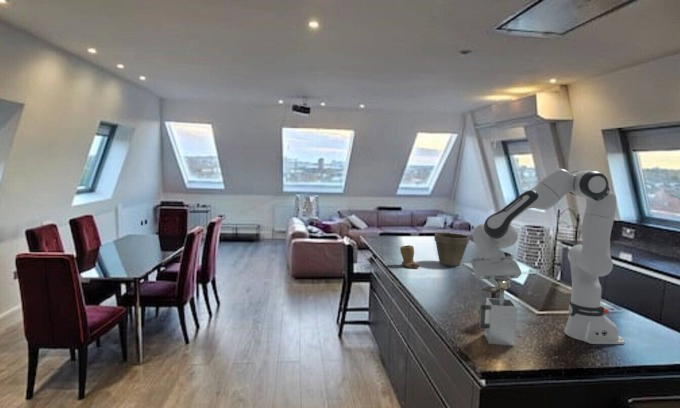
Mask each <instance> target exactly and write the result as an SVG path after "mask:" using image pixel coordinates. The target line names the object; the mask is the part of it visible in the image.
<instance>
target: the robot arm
mask: <svg viewBox="0 0 680 408" xmlns="http://www.w3.org/2000/svg"><path fill="white" fill-rule="evenodd" d="M610 189H611V188H610V186H609V180H608V178H607V176H605V174H604V173H602V172H599V171H596V170H588V169H587V170H578V171H572V172H570V171H568V170H567V169H566V168H565V169H564V168H557V169H555V170H554V171H552V172H550V173H549V174H547V175H546V176H544V178H542V179H541V180H540V181H539V182H538V183H537V184H536V185H535V186H534V187H532V188H530V189H529V190H526V191H524V192H523V193H521V194H520V195H519V196H517V197H516V198H515V199H514V200H512V201H511V202H509V203H508V204H507V205H506V206H504V207H503V208H501V209H500V210H499V211H497V212H495V213H493V214H491V215H489V216H488V217H487V218H486V219H485V221H484V223H481V224H478V225H477V226H475V227H474V229H473V231H472V239H473V242H474V246H475V249H477V251H478V255H479V258H473V259H471V260H470V264H471V267H472V270H473V274H474V275H473V276H474V277H475V278H476V279H477V280H489V282H490V283H491V284H492V285H494V286H493V287H495V288H499V287H500V284H499V282H498V280H502V279H503V280H504V281H507V288H511V287H512V285H511V279H518V278H519V277H520V276H521V275H522V271H521V268H520V266H519V264H518V262H517V261H516V260H515V259H514V254H513V253H510V252H507V251H504V250H501V249H505V248H508V247H511V246H514V245H515V243H516V242H517V240H518V237H519V236H518V235H519V234H518V232H517V230H516V229H515V228H514V226H513V225H512V222H513V221H514V220H515V219H516V218H518V217H519V216H521V214H523V213H524V212H525V211H527V210H528V209H536V210H541V211H547V210H549V209H551V208H552V207H554V206H555V205H556V204H558V203H559V202H560V201H561V200H562V199H563V197H565V196H566V195H567V194H571V195H574V196H579V197H581V198H585V202H586V206H585V209H584V214H583V218H582V222H581V228H580V234H581V242H582V243H581V244H575V245H573V246H571V247H570V248H569V249H568V252H567V259H568V262H569V266H570V276H571V293H570V294H571V297H570V300H569V306H568V317H567V323H566V326H565V329H564V331H563V332H564V334H565V335H567V336H568V337H570V338H572V339H576V340H578V341H583V342H585V343H588V344H590V345H591V344H592V345H625V339H624V338H623V337H622V336H621V335H619V329H618V326H617V325H616V324H615V323H614V322H613V321H612V320H611V319H609V318H608V317H607V316H606V315H608V314H610V309H608V308H607V307H603V306H602V305H601V299H602V285H601V283H600V280H599V279H600V278H599V277H605V276H608V275H610V273H611V272H612V270H613V267H614V262H613V259H612V255H611V234H612V230H613V225H614V221H615V216H616V211H617V196H616V195H615V193H614V192H612V191H611V190H610ZM605 314H606V315H605Z"/></svg>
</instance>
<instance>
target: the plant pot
mask: <svg viewBox="0 0 680 408" xmlns="http://www.w3.org/2000/svg"><path fill="white" fill-rule="evenodd" d="M434 241H435V245H436V249H437V250H436V251H437V255H438V256H437V257H438V261H439V263H440V264H441V265H444V266H449V267H457V266H458V265H459V266H460V265H461V263H462V261H463V258H464V255H465V252H466V249H467V246H468V245H469V244H470V236H468V235H465V234H461V233H455V232H454V233H451V232H437V233H434ZM459 266H458V267H459Z"/></svg>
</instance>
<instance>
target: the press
mask: <svg viewBox="0 0 680 408" xmlns="http://www.w3.org/2000/svg"><path fill="white" fill-rule="evenodd" d="M499 300H500V299H495V298H486V305H483V304H481V309H480V308H479V312H480V324H478V326H479V328H480V329H483V330H484V331H483V335H484V338H486V341H487V343H488V345H501V346H510V347H511V346H512V347H513V346H514V347H515V344H516V330H517V317H518V316H517V315H518V306H517V305H516V304H515V302H514V301H512V299H509V298H508V299H507V298H506V299H505V298H504V302H503V306H500V305H499ZM485 310H486V312H485ZM484 321H485V323H484Z"/></svg>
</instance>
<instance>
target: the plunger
mask: <svg viewBox="0 0 680 408" xmlns="http://www.w3.org/2000/svg"><path fill="white" fill-rule="evenodd" d="M497 282H499V284H500V287H499V288H498V289H500V300H499V305H500V306H503V302H504V299H505V291H506V290H508V287H507V280H505V279H503V280H502V279H498V280H497Z"/></svg>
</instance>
